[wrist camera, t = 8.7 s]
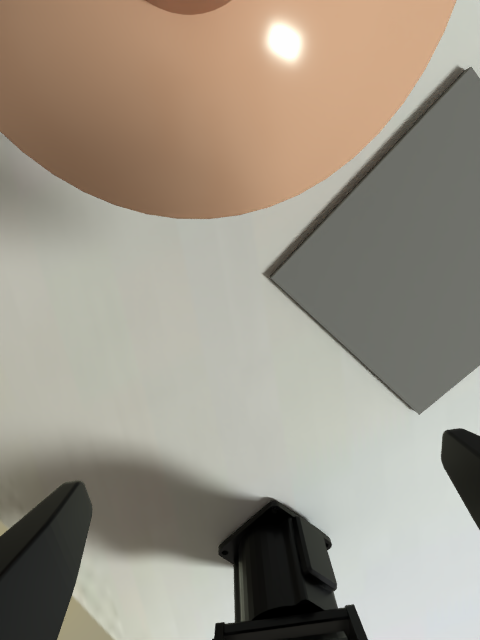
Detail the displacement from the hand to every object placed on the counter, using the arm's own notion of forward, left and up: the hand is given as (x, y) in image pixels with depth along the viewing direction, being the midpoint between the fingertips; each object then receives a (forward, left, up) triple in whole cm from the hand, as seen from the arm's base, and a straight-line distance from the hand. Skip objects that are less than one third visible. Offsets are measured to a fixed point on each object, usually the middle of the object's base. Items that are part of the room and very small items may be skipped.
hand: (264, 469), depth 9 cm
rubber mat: (+10, -7, -13) cm, 18 cm away
